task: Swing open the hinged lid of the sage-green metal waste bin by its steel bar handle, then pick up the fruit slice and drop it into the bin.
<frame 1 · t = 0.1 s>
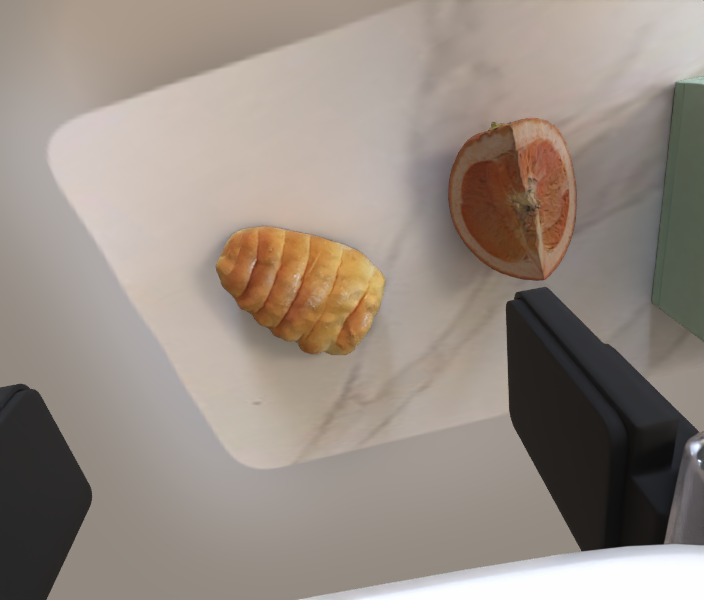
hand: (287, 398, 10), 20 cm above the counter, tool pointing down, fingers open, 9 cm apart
fruit slice: (498, 182, 30), on the counter
pastry: (307, 283, 31), on the counter
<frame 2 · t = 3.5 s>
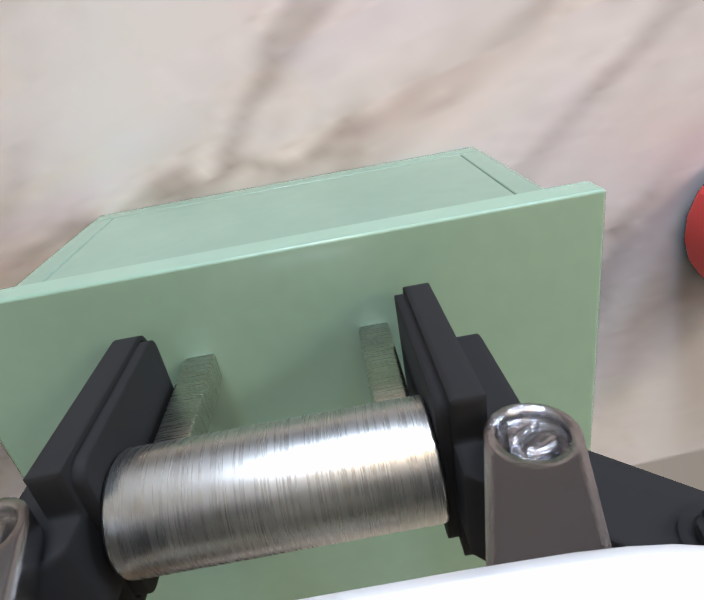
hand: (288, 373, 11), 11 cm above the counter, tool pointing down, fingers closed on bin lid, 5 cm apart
bin lid: (330, 566, 12), point 12 cm above the counter, hinge at 0.0°, touching gripper
bin: (320, 331, 23), on the counter
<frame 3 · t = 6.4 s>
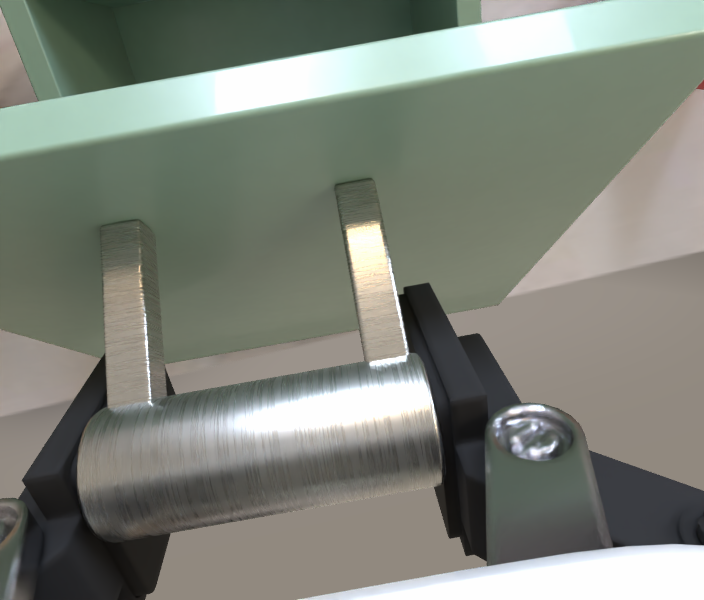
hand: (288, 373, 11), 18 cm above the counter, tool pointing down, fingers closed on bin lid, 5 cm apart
bin lid: (298, 364, 13), point 16 cm above the counter, hinge at 48.6°, touching gripper
bin: (288, 122, 26), on the counter
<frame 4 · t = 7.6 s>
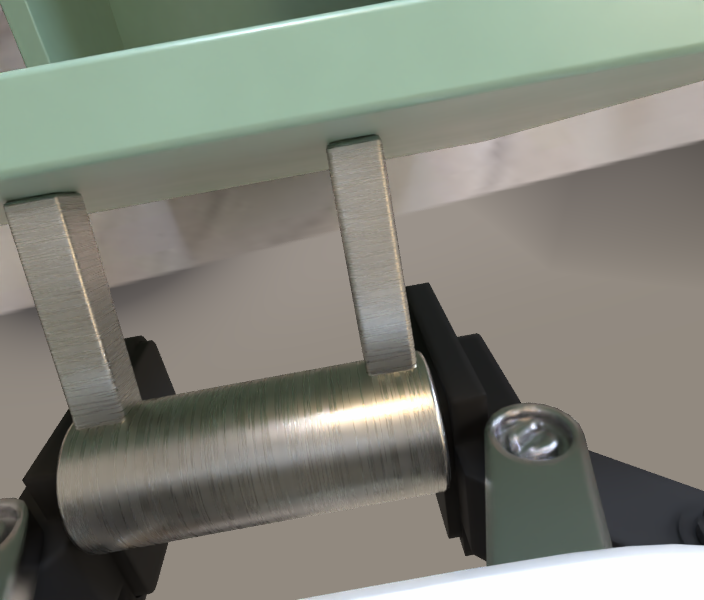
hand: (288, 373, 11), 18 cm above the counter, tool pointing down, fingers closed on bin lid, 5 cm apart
bin lid: (272, 269, 12), point 17 cm above the counter, hinge at 76.1°, touching gripper
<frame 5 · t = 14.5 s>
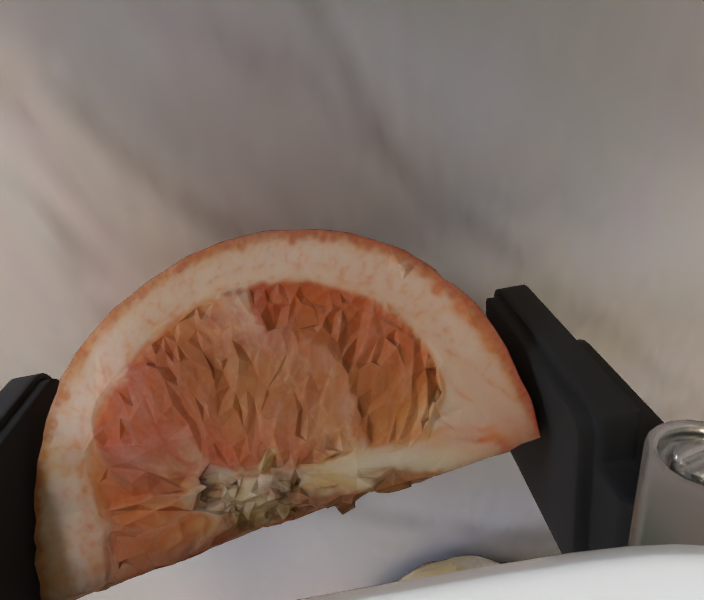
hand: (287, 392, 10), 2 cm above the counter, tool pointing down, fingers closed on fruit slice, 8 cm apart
fruit slice: (281, 341, 12), on the counter, touching gripper
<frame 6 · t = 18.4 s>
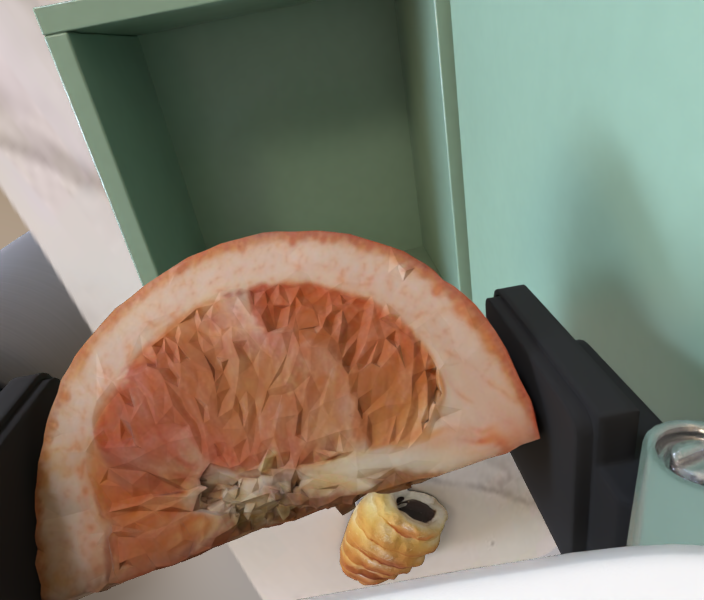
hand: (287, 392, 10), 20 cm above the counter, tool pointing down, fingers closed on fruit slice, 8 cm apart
bin lid: (656, 197, 13), point 16 cm above the counter, hinge at 90.1°
fruit slice: (282, 342, 12), point 18 cm above the counter, touching gripper
bin: (296, 149, 27), on the counter
pastry: (388, 517, 41), on the counter
when the fingers open (13 cm above the counter, at t = 28.4 s): fruit slice drops 10 cm, point 1 cm above the counter.
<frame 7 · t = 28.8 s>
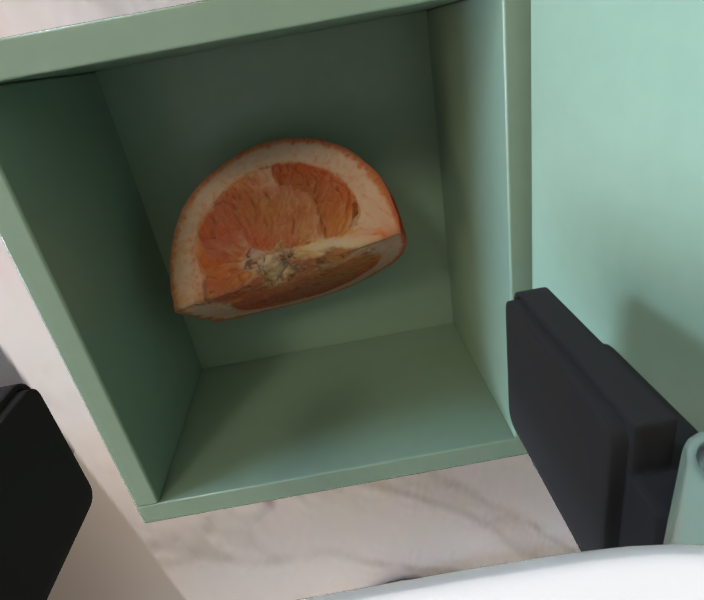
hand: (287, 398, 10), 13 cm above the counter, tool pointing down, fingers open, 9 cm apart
fruit slice: (292, 212, 21), point 1 cm above the counter
bin: (299, 208, 22), on the counter
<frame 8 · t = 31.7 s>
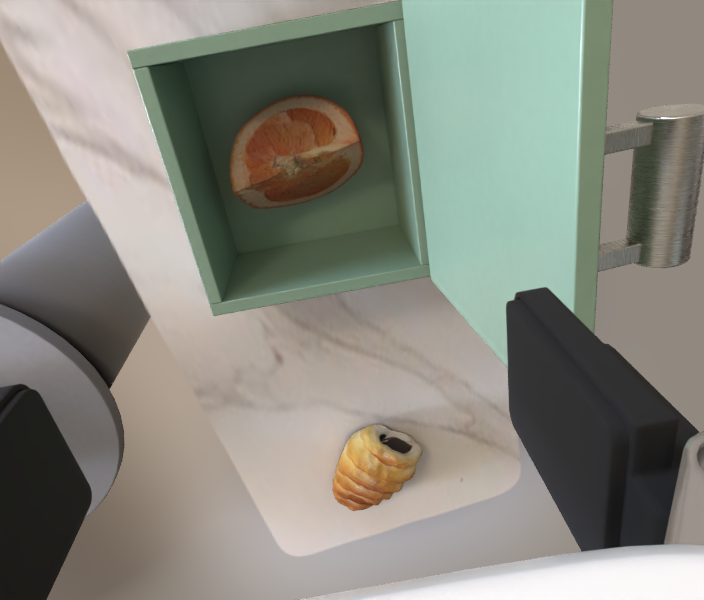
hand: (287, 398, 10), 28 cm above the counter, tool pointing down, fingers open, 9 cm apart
bin lid: (538, 172, 21), point 16 cm above the counter, hinge at 96.7°
fruit slice: (296, 148, 35), point 1 cm above the counter, touching bin
bin: (300, 147, 36), on the counter
pastry: (374, 454, 49), on the counter
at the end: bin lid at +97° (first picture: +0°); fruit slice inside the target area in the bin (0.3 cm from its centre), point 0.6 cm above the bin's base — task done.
